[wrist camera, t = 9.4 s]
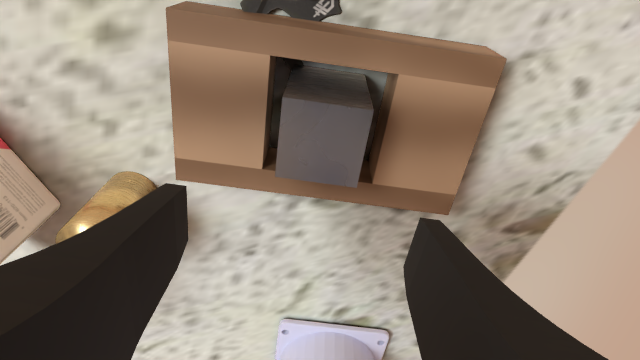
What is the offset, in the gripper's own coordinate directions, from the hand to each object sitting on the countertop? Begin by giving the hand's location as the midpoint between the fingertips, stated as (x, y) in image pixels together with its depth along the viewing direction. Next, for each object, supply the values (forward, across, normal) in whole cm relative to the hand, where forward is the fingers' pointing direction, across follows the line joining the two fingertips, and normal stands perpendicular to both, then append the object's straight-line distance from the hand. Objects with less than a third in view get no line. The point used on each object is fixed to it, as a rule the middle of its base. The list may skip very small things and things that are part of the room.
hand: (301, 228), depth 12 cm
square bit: (+10, 0, -1) cm, 10 cm away
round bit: (+10, +10, +6) cm, 15 cm away
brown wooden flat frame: (+10, -1, -1) cm, 10 cm away
